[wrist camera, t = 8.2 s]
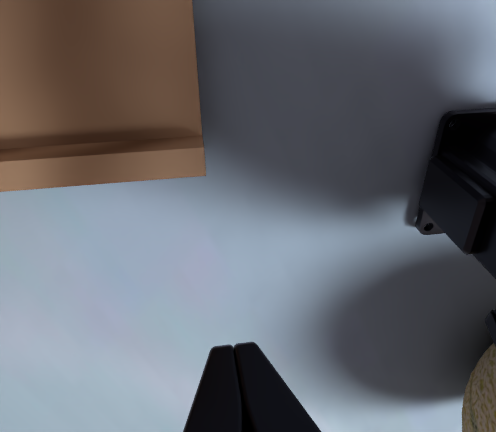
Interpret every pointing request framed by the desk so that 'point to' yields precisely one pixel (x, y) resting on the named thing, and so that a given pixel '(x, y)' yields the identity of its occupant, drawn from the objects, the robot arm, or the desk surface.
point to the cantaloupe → (481, 395)
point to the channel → (98, 93)
